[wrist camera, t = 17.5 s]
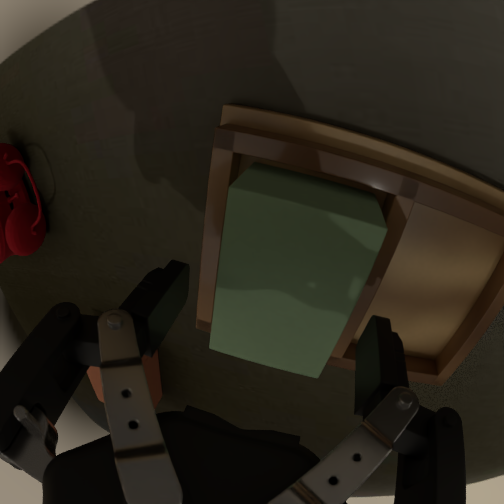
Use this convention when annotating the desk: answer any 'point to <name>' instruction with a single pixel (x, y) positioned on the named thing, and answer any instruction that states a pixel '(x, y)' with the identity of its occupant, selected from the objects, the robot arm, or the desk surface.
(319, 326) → the pad sage
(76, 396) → the desk surface
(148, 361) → the pad terracotta
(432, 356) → the divided wooden tray
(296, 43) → the desk surface
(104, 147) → the desk surface
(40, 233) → the alarm clock
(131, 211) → the desk surface
